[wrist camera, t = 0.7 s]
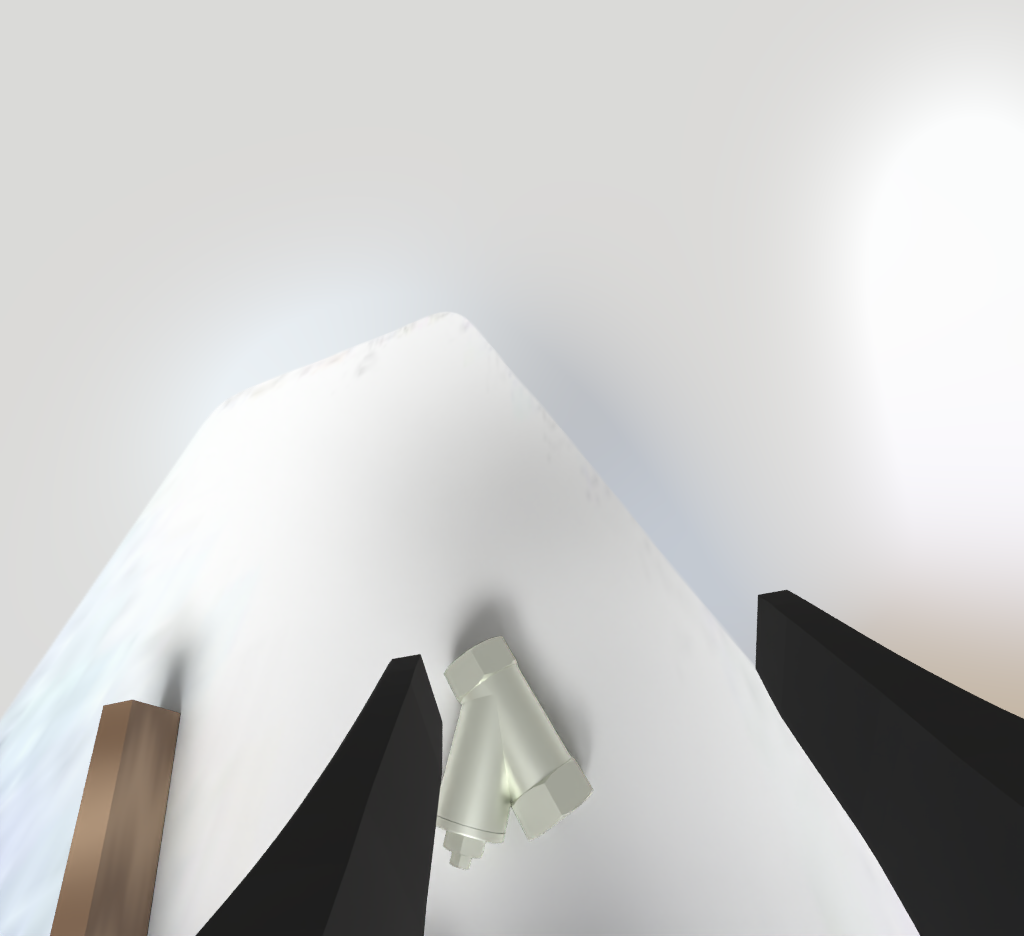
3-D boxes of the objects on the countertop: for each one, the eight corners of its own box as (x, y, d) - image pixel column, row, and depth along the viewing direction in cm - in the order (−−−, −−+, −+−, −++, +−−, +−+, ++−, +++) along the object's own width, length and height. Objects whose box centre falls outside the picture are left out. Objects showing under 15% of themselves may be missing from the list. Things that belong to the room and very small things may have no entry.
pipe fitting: (468, 884, 22) (589, 790, 24) (456, 903, 19) (597, 793, 21) (395, 716, 26) (504, 646, 28) (374, 708, 23) (499, 628, 24)
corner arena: (438, 1098, 18) (425, 1163, 15) (66, 1221, 17) (-41, 1325, 13) (403, 666, 27) (389, 646, 24) (155, 718, 25) (103, 705, 22)
